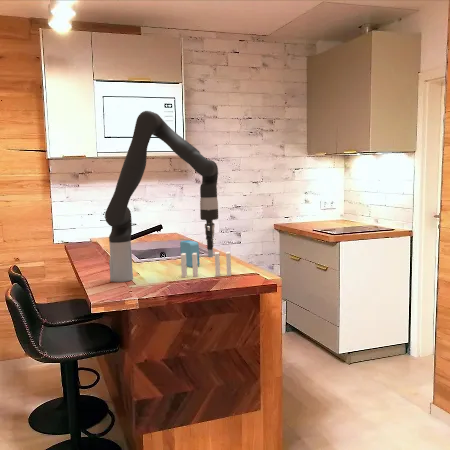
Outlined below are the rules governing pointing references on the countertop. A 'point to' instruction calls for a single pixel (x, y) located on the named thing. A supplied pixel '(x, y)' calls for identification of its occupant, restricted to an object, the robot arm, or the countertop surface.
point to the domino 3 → (210, 252)
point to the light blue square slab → (189, 251)
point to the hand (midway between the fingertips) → (210, 248)
